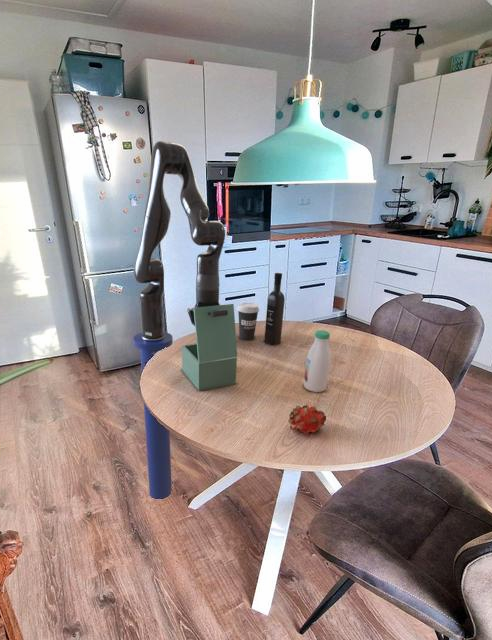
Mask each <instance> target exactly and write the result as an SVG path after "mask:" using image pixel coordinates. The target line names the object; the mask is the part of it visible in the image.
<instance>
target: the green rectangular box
mask: <svg viewBox="0 0 492 640" xmlns="http://www.w3.org/2000/svg"><path fill="white" fill-rule="evenodd" d="M237 361H238V356H237V357H232V358H226V359H220V360H214V361H207V362H201V363H199V362H198V351H197V342H196V343H190V344H182V345H181V371H182V372H183V373H184V374H185V376H186V377H187V378H188V379H189V380H190V382H191V383H192V385H194V387H195V388H196V389H197V390H198V392H199V391H204V390H210V389H215V388H216V389H217V388H219V387H220V388H221V387H226V386H229V385H230V386H231V385H236V384H237V365H238V364H237V363H238V362H237Z"/></svg>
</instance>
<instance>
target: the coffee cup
mask: <svg viewBox="0 0 492 640" xmlns="http://www.w3.org/2000/svg"><path fill="white" fill-rule="evenodd" d="M259 312H260V308H259V306H258V304H256V303H253V302H241V303H239V305H238V306H237V313H238V336H239V339H240V340H243V341H252V340H254V338H255V333H256V326H257V320H258V315H259Z"/></svg>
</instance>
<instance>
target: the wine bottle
mask: <svg viewBox="0 0 492 640" xmlns="http://www.w3.org/2000/svg"><path fill="white" fill-rule="evenodd" d="M273 279H274V283H273V290H272V291H271V292H269V294H268V296H267V302H266V315H265V328H264V339H263V340H264V341H263V342H264V343H266V344H269V345H271V346H274V345H277V344H280V343H281V341H282V333H283V332H282V331H283V322H284V321H283V319H284V312H285V311H284V310H285V303H286V302H285V301H286V300H285V299H286V298H285V295H284V293H283V292H282V291H281V287H282V279H283V273H281V272H275V273H274V278H273Z"/></svg>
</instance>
